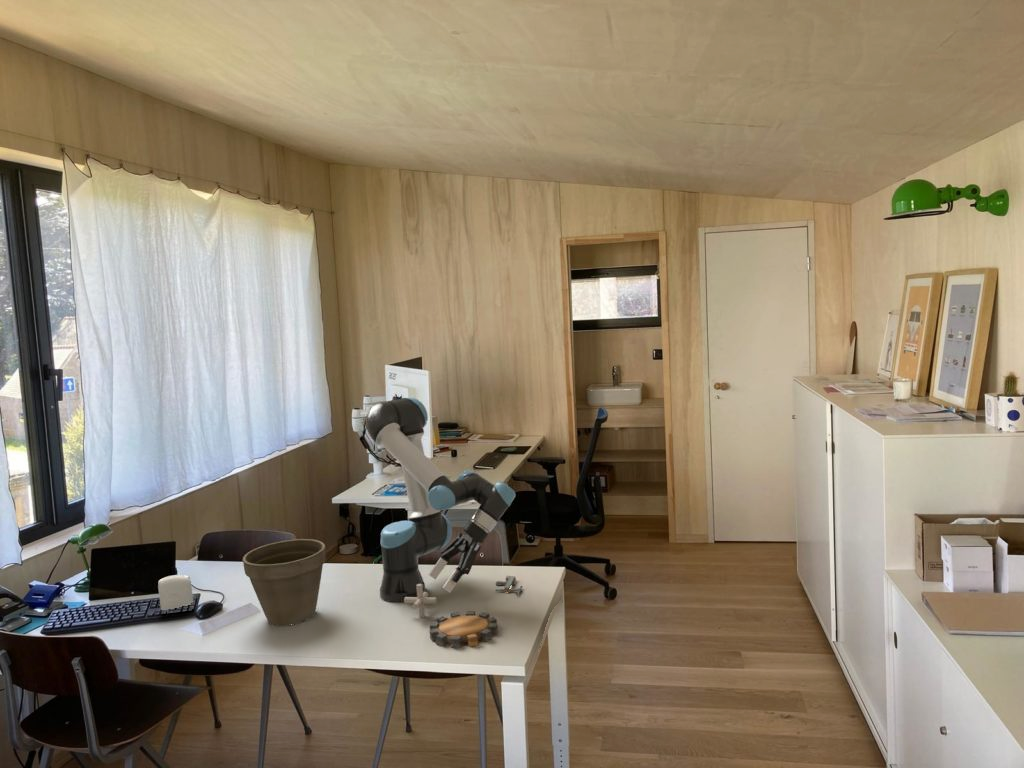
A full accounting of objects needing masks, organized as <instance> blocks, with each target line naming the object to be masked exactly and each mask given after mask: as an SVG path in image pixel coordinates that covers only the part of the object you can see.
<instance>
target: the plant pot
mask: <svg viewBox="0 0 1024 768" xmlns="http://www.w3.org/2000/svg"><path fill="white" fill-rule="evenodd" d="M326 553H327V552H326V544H325V543H324V542H322V541H320V540H318V539H311V538H309V539H308V538H307V539H306V538H300V539H299V538H298V539H290V540H282V541H278V542H272V543H267V544H265V545H261V546H259V547H256V548H254V549H252V550H249V552H247V553H246V554H245V555H244V556H243V557H242V564H243V570H244V574H245V575H246V577H248V578H249V580H250V584H251V585H252V587H253V590H254V593H255V594H256V597H257V599H258V600H257V601H258V602H259V604H260V607H261V609H262V611H263V613H264V617H265V618H266V620H267V622H268V623H269V624H270V625H272V626H277V625H279V626H278V627H285V626H284V625H288V626H292V625H291V624H294V625H297V624H296V623H298V624H300V623H299V622H301V623H303V622H302V621H304V622H306V621H308V620H310V619H311V618H313V617H314V616H313V615H316V610H317V605H318V598H319V592H320V586H321V580H322V572H323V565H324V564H325V562H326V560H327V558H326V555H327V554H326ZM312 616H313V617H312ZM309 618H310V619H309ZM307 619H308V620H307ZM305 620H306V621H305Z"/></svg>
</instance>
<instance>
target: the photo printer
mask: <svg viewBox="0 0 1024 768" xmlns="http://www.w3.org/2000/svg"><path fill="white" fill-rule="evenodd" d="M157 583H158V585H157V588H158V594H159V595H158V597H159V604H160V605H159V607H160V611H161V610H168V609H174V608H179V607H182V606H188V605H191V603H193V602H194V595H193V587H192V581H191V577H190V576H189V575H185V574H175V575H174V574H173V575H168V576H165V577H163V578H161V579H159V580H158V582H157Z"/></svg>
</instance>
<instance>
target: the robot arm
mask: <svg viewBox="0 0 1024 768" xmlns="http://www.w3.org/2000/svg"><path fill="white" fill-rule="evenodd" d="M428 417H429V416H428V412H427V409H426V407H425V405H424V404H423V403H422V401H420V400H419V399H417V398H415V397H401V398H398V399H392V400H386V401H380V402H378V403H376V404H374V405H373V406H372V407H370V409H369V410H368V411H367V414H366V418H365V427H366V431H367V433H368V435H369V437H370V438H371V439H372V441H373V442H374V443H375V444H376V445H377V446H379V447H383V448H384V449H385V450H386V451H387V452H388V453H389V455H391V456H392V457H393V458H394V459H395V460H396V461H397V462H398V463H399V464H400V466H401V470H402V474H403V481H404V485H405V489H406V494H407V499H408V504H409V508H410V513H409V515H407V520H400V521H395V522H391V523H390V524H387V525H386V526H384V527H383V529H382V530H381V532H380V546H381V547H380V548H381V557H382V569H383V575H382V579H381V584H380V587H379V596H380V598H381V600H383V599H384V601H386V600H388V601H387V602H394V601H397V602H404V598H405V597H417V586H416V585H417V584H422V587H423V593H424V592H427V590H426V583H425V581H424V578H423V576H422V574H421V571H420V569H419V558H420V557H423V556H425V555H427V554H431V553H432V552H438V551H439V550H441V551H440V552H439V554H440V557H439V559H438V560H437V562H436V563H435V565H434V566H433V567H432V568H431V570H430V572H429V573H428V576H429V577H431V578H433V579H434V580H436V579H437V578H438V577H439V575H440V574H441V572H443V570H444V569H445V567H446V566H447V565H448V563H449V562H450V559H452V558H453V557H455V556H457V555H458V554H459V553H461V556H460V559H459V564H458V566H457V567H455V569H454V571H453V572H452V574H451V575H450V576H449V577H448V579H447V580H446V582H445V583H444V585H442V588H443V589H444V590H445V591H447V592H448V593H451V592H452V591H453V589H454V588H455V586H456V585H457V584H458V582H459V581H460V580H461V578H462V577H463V576H464V575H469V574H470V572H471V569H472V567H473V564H475V563H474V562H475V560H476V558H477V555H478V553H479V551H480V550H481V548H482V546H481V545H479V543H480V544H484V542H485V541H486V539H487V538H488V536H489V533H491V532H492V530H493V529H494V528H496V525H497V524H498V522H499V521H500V519H501V517H502V516H503V515H504V513H505V512H506V511H507V510H508V508H509V507H510V506H511V505H512V502H513V501H514V499H515V498H516V496H517V495H516V491H515V490H514V489H512V488H511V487H510V486H509V485H508V484H506V483H505V482H504V481H503V482H502V481H500V480H499V481H497V482H496V483H495V484H493V483H491V482H490V481H488V480H487V479H485V478H484V477H482V476H481V475H480V474H479V473H476V472H474V471H472V470H470V469H466V470H464V471H462V473H459V475H458V477H457V478H456V480H453V481H452V480H451V479H449V477H448V476H446V475H445V474H444V473H443V471H441V470H440V469H439V467H437V466H436V465H435V464H434V463H433V461H431V460H430V459H429V458H428V457H427V455H425V451H424V446H423V443H422V437H423V436H424V434H425V430H424V428H425V427H426V425H427V422H428V419H429V418H428ZM471 501H474V502H476V503H477V504H479V507H478V508H477V509H476V510H475V512H474V513H473V515H472V516H471V518H470V519H471V520H468V522H467V524H465V525H464V527H463V532H465V533H464V534H463V533H462V532H459V533H458V534H457V535H456V537H455V538H454V539H453V540H452V539H451V538H452V535H453V531H452V530H453V528H452V524H451V521H450V520H449V518H448V517H447V516H446V515H445V514H443V513H442V511H443V510H444V511H445V510H450V509H451V508H454V507H456V506H459V505H462V504H465V503H469V502H471ZM450 540H452V541H450ZM442 548H443V549H442Z"/></svg>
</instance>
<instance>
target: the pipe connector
mask: <svg viewBox="0 0 1024 768" xmlns="http://www.w3.org/2000/svg"><path fill="white" fill-rule="evenodd" d="M416 586H417V597H405V598H404V601H403V603H404V604H413V605H412V609H414V610H417V611H418V618H424V617H425V616H426V615H425V604H437V603H438V599H437V597H435V596H434V597H433V596H432V597H431V596H430V597H428V596H429V593H428V592H427V591H425V592H424V593H423V587H422V584H417V585H416ZM423 616H424V617H423Z"/></svg>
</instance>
